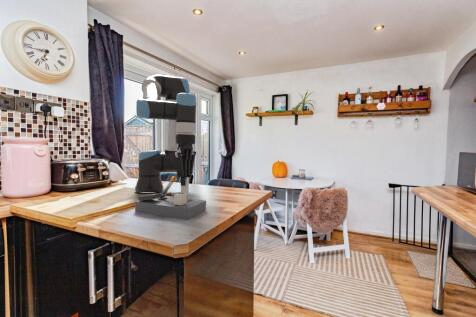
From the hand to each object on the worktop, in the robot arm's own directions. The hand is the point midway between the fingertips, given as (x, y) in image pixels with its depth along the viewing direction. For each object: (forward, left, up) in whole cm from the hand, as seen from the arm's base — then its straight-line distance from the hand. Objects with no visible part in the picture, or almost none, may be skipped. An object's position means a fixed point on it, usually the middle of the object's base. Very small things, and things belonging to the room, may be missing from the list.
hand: (184, 193), depth 95 cm
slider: (+3, 0, -4) cm, 5 cm away
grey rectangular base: (+1, -6, -8) cm, 10 cm away
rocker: (+4, -14, -2) cm, 14 cm away
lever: (-1, -12, -2) cm, 12 cm away
